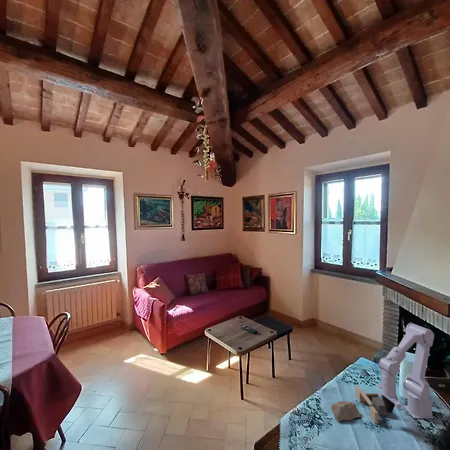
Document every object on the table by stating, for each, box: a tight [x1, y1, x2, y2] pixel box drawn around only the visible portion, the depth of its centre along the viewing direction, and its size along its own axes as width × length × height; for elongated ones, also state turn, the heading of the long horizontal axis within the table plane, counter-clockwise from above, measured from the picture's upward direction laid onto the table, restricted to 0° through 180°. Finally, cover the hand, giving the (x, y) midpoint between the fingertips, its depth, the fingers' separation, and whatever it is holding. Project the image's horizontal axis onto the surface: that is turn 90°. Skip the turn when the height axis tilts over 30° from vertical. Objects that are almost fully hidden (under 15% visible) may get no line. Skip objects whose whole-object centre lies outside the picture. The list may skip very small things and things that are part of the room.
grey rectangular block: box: [372, 396, 389, 416], centre depth 127 cm, size 4×6×5 cm
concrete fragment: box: [330, 400, 362, 423], centre depth 124 cm, size 7×14×6 cm, turn 99°
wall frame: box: [354, 385, 379, 425], centre depth 128 cm, size 2×19×6 cm, turn 178°
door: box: [361, 393, 380, 405], centre depth 131 cm, size 2×8×5 cm, turn 88°
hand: (389, 412), depth 119 cm, fingers closed
